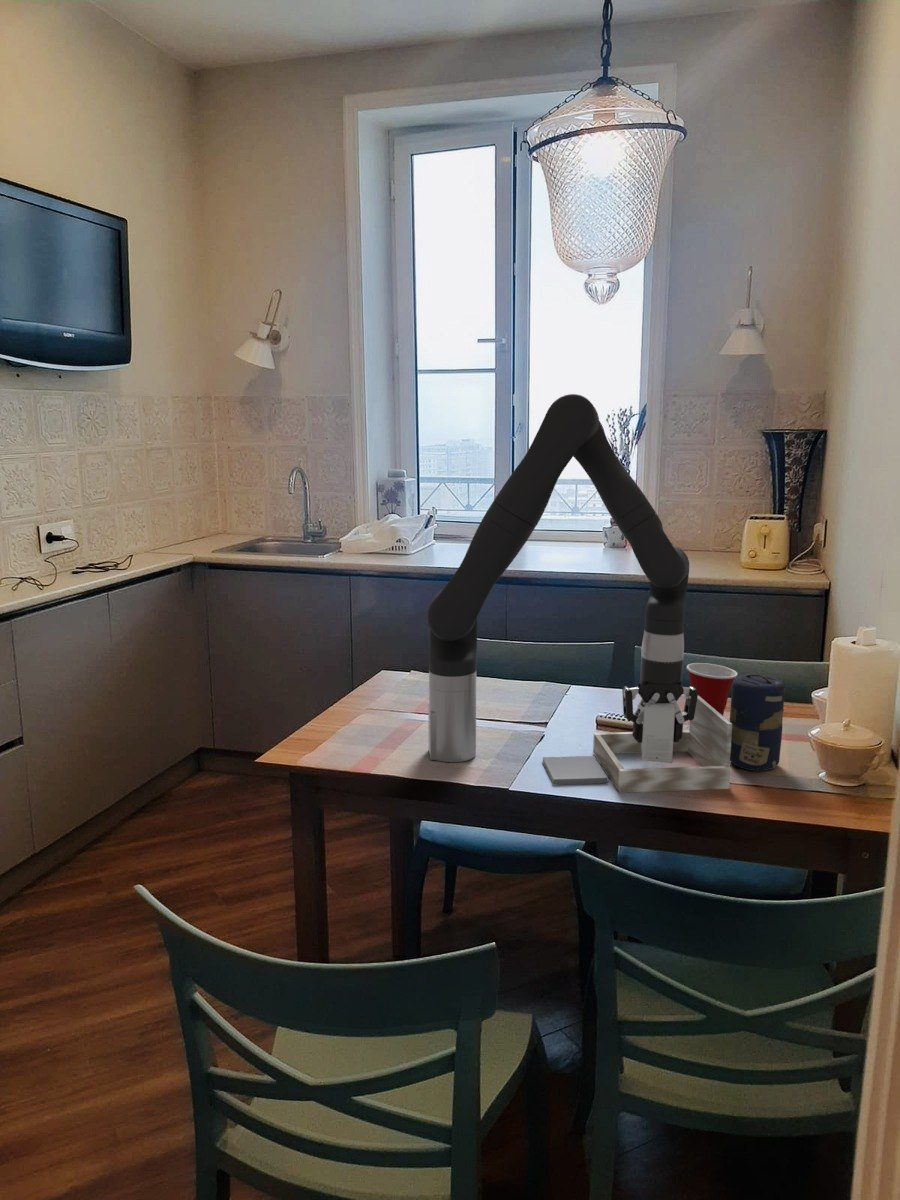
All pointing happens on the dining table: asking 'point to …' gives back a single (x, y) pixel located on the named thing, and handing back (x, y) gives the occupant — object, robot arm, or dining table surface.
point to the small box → (658, 732)
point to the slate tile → (574, 770)
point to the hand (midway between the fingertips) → (657, 740)
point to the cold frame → (701, 740)
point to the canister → (756, 721)
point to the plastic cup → (712, 683)
